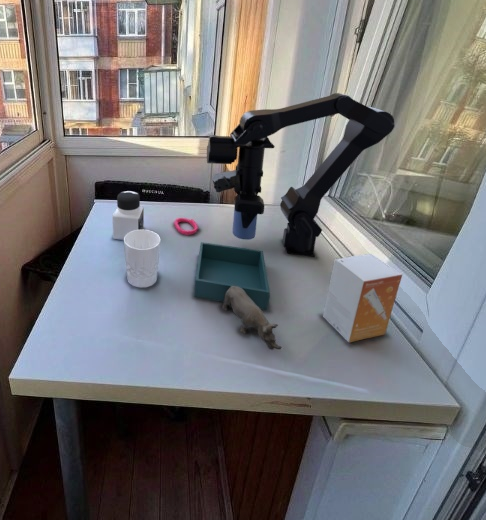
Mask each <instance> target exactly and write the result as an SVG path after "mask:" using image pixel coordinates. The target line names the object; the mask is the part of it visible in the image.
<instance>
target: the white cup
mask: <svg viewBox="0 0 486 520" xmlns="http://www.w3.org/2000/svg"><path fill="white" fill-rule="evenodd" d="M161 241H162V240H161V237H160V235H159V234H158V233H156V232H155V231H152V230H149V229H143V230H134V231H131V232H129V233H128V234H126V235H125V237H124V240H123V245H124V246H123V248H124V262H125V270H126V279H127V281H128V283H129V284H130V285H131V286H132V287H137V288H148V287H151V286H153V285H155V284H156V282H157V279H158V271H159V265H160V253H161Z"/></svg>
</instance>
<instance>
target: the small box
mask: <svg viewBox="0 0 486 520" xmlns="http://www.w3.org/2000/svg"><path fill="white" fill-rule="evenodd" d="M332 265H333V266H332V271H331V276H330V279H329V280H330V281H329V285H328V289H327V294H326V298H325V304H324V309H323V313H322V317H323V318H324V319H325V320H326V321H327V322H328V323H329V324H330V325H331V326H332V327H333V329H335V330H336V332H338V333H339V334H340V335H341V336H342V337H343V339H344V340H345V341H346V342H348V343H349V344H351V343H353V342H358V341H361V340H365V339H370V338H376V337H380V336H385V335H386V333H387V329H388V325H389V323H390V318H391V315H392V311H393V309H394V305H395V301H396V298H397V294H398V291H399V288H400V284H401V281H402V277H403V273H401V272H399V271H398V270H396V269H395V268H394V267H392V266H390V265H389V264H387V263H386V262H385V261H383V260H382V259H380V258H379V257H377V256H375V255H374V254H373V253H365V254H359V255H358V254H357V255H351V256H346V257H342V258H336V259H334V261H333V264H332Z"/></svg>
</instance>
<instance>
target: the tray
mask: <svg viewBox="0 0 486 520" xmlns="http://www.w3.org/2000/svg"><path fill="white" fill-rule="evenodd" d="M194 280H195V281H194V294H193V295H194V298H195V297H196V298H201V299H206V300H211V301H217V302H223V303H224V299H225V294H226V292H227V291H228V289H229V288H230V287H231V286H237V287H240V288H242V289H243V290H244V291H245V292H246V294H247V295H248V296H249V297H250V298H251V299H252V300H253V302H254V303H255V304H256V305H257V306H258V307H259V308H260V309H261V310H267V311H268V309H269V303H270V296H271V291H270V285H269V278H268V273H267V267H266V260H265V254H264V251H263V250H260V249H253V248H247V247H240V246H233V245H232V246H231V245H224V244H217V243H212V242H211V243H210V242H204V241H200V245H199V251H198V259H197V266H196V273H195V279H194Z"/></svg>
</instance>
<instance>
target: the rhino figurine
mask: <svg viewBox="0 0 486 520" xmlns="http://www.w3.org/2000/svg"><path fill="white" fill-rule="evenodd" d="M230 306H231V308H232V311H233V313H234V315H235V316H237V317H238V318H239V319H241V322H242V325H241V326H240V329H239V331H240V333H242V334H243V335H247V334H248V333H249V330H248V328H251V330H252V332H253V333H255V334H258V336H259V338H260V339H261V340H262V342H264V344H265V346H267V348H268V349H269V350H270V351H273V350H281V349H282V348H283V346H282V345H278V344H277V342H276V336H275V334H274V333H273V329H276V328H278V326H279V324H276V323H273V324H271V323H270V322H269V320H267V318H266V316H265V314H264V311H263V309H261V308H259V307H258V306H257V305H256V304H255V303H254V302H253V300H252V299H251V298H250V297H249V296H248V295H247V294H246V292H245V291H244V290H243V289H242V288H240V287H237V286H231V287H230V288H229V289H228V291H227V292H226V294H225V299H224V302H223V304H222V306H221V309H222V310H223V311H224V312H228V311H229V310H230V309H231V308H230Z"/></svg>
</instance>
